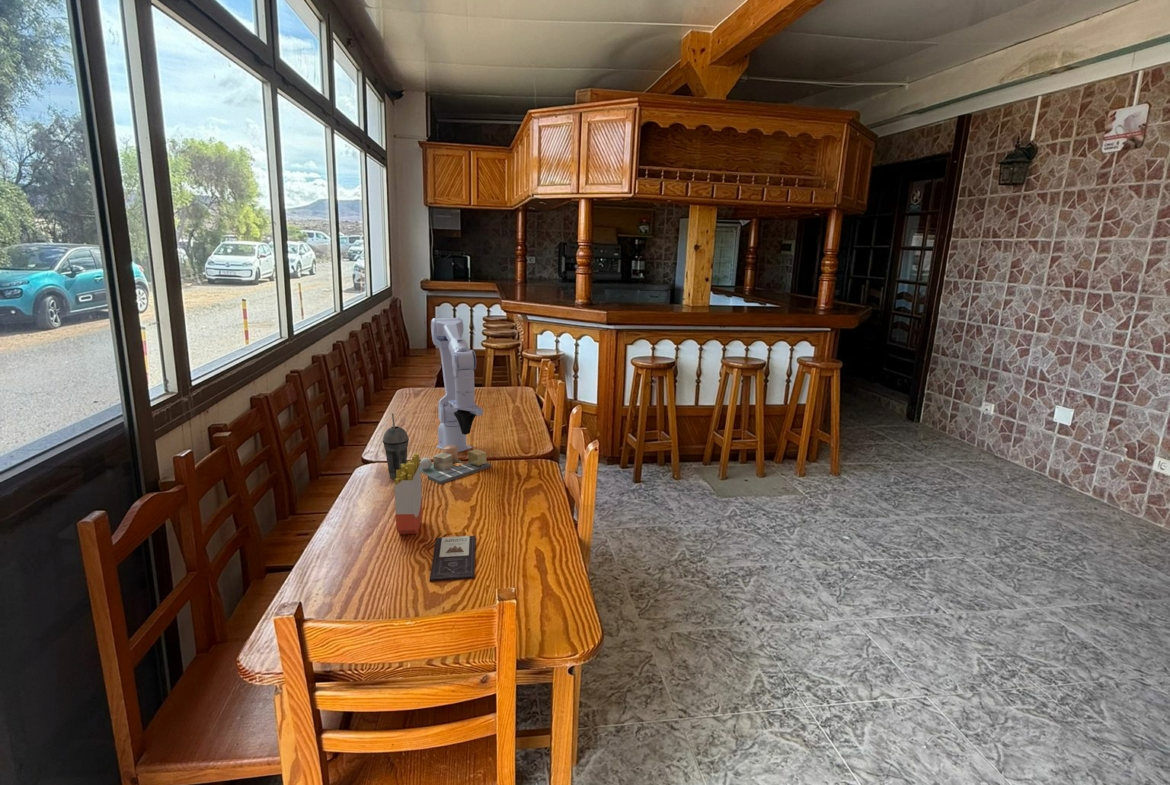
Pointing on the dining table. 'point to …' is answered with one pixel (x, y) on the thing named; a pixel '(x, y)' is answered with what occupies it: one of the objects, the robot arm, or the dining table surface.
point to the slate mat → (432, 470)
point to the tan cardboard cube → (477, 457)
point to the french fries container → (408, 497)
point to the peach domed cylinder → (451, 452)
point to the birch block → (442, 461)
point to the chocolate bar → (453, 558)
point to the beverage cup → (395, 448)
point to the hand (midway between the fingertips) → (465, 433)
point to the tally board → (457, 472)
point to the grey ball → (425, 463)
